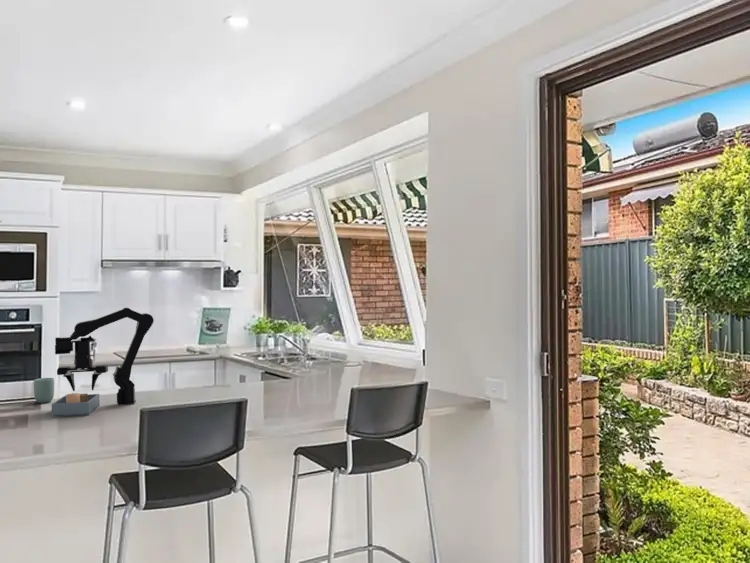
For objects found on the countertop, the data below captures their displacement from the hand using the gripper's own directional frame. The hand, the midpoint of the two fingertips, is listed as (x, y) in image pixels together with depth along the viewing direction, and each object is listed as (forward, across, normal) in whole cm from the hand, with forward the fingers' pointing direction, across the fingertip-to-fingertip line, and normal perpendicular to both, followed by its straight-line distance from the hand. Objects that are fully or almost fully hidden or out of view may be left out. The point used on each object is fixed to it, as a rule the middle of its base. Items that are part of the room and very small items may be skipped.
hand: (83, 390), depth 278 cm
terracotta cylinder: (+6, +1, +14) cm, 15 cm away
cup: (+7, +20, -18) cm, 27 cm away
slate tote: (+7, +1, +8) cm, 11 cm away
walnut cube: (+6, +1, +3) cm, 7 cm away
